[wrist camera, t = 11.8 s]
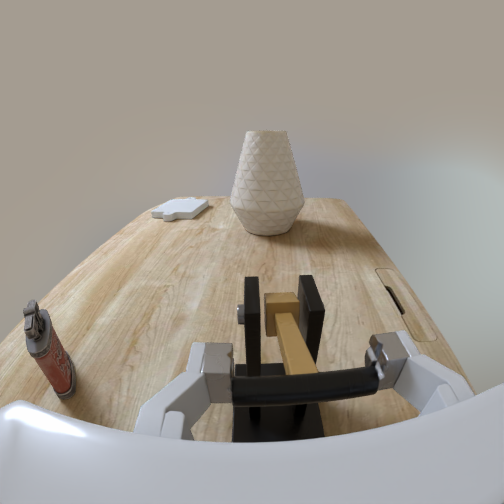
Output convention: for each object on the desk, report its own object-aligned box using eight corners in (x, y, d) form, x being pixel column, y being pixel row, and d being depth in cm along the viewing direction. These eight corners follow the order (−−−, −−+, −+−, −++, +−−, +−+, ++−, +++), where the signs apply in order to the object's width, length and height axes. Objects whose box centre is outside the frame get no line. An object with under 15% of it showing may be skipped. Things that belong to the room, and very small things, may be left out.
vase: (255, 248, 58) (252, 132, 48) (219, 224, 72) (214, 132, 62) (318, 231, 66) (322, 132, 56) (276, 212, 79) (275, 130, 70)
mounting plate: (175, 202, 92) (175, 197, 91) (211, 203, 90) (211, 197, 89) (147, 220, 76) (146, 214, 76) (188, 222, 74) (187, 215, 73)
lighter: (51, 358, 28) (20, 295, 24) (71, 351, 30) (43, 288, 26) (55, 402, 22) (12, 336, 18) (79, 395, 24) (39, 327, 20)
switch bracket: (323, 444, 20) (361, 338, 14) (232, 450, 20) (214, 345, 14) (308, 368, 29) (323, 257, 23) (235, 370, 29) (226, 259, 23)
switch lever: (374, 411, 9) (383, 360, 9) (233, 424, 9) (229, 372, 9) (314, 321, 21) (315, 290, 21) (242, 324, 21) (241, 293, 21)
